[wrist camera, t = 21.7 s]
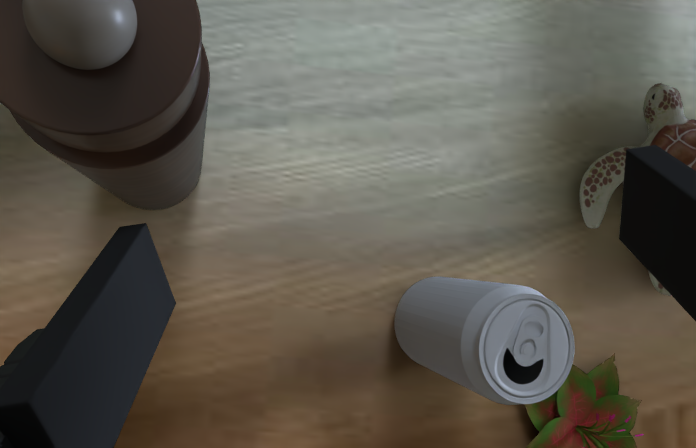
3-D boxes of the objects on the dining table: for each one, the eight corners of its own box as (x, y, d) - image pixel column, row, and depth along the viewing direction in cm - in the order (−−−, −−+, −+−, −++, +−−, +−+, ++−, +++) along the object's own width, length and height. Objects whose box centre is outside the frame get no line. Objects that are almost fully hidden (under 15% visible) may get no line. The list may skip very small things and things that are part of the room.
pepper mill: (176, 102, 36) (142, -178, 12) (217, 186, 36) (261, 73, 13) (84, 138, 34) (-156, -102, 11) (128, 225, 35) (-8, 180, 11)
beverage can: (379, 352, 39) (458, 396, 27) (405, 264, 39) (492, 271, 28) (458, 374, 40) (565, 425, 29) (481, 289, 41) (594, 306, 29)
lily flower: (530, 531, 41) (570, 565, 37) (490, 377, 41) (526, 393, 37) (655, 470, 45) (705, 495, 40) (619, 327, 44) (666, 336, 40)
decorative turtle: (721, 73, 48) (780, 53, 43) (762, 258, 49) (824, 259, 44) (546, 109, 43) (591, 91, 38) (593, 315, 44) (643, 323, 39)
